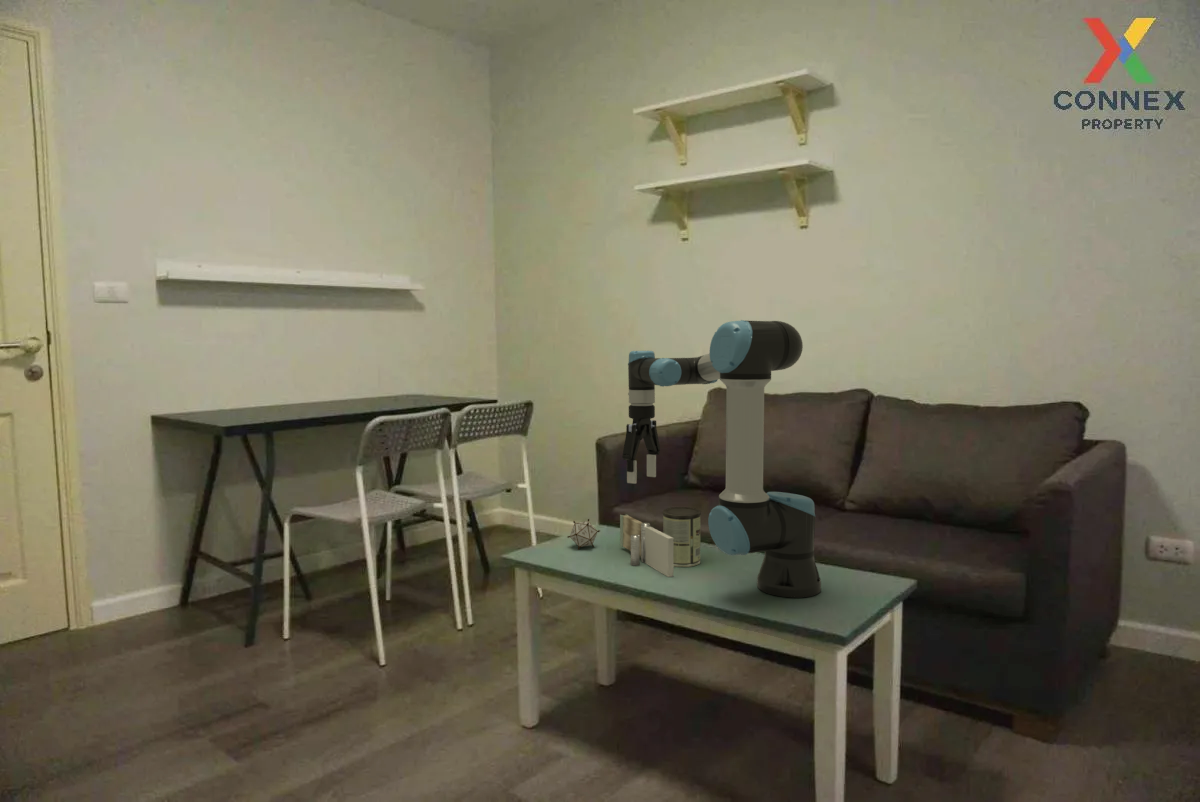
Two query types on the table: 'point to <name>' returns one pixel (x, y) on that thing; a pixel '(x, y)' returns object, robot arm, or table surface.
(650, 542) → the light grey flat panel
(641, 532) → the gate post
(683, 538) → the coffee can
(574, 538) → the game die
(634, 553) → the peg
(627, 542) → the gate
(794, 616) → the table surface
